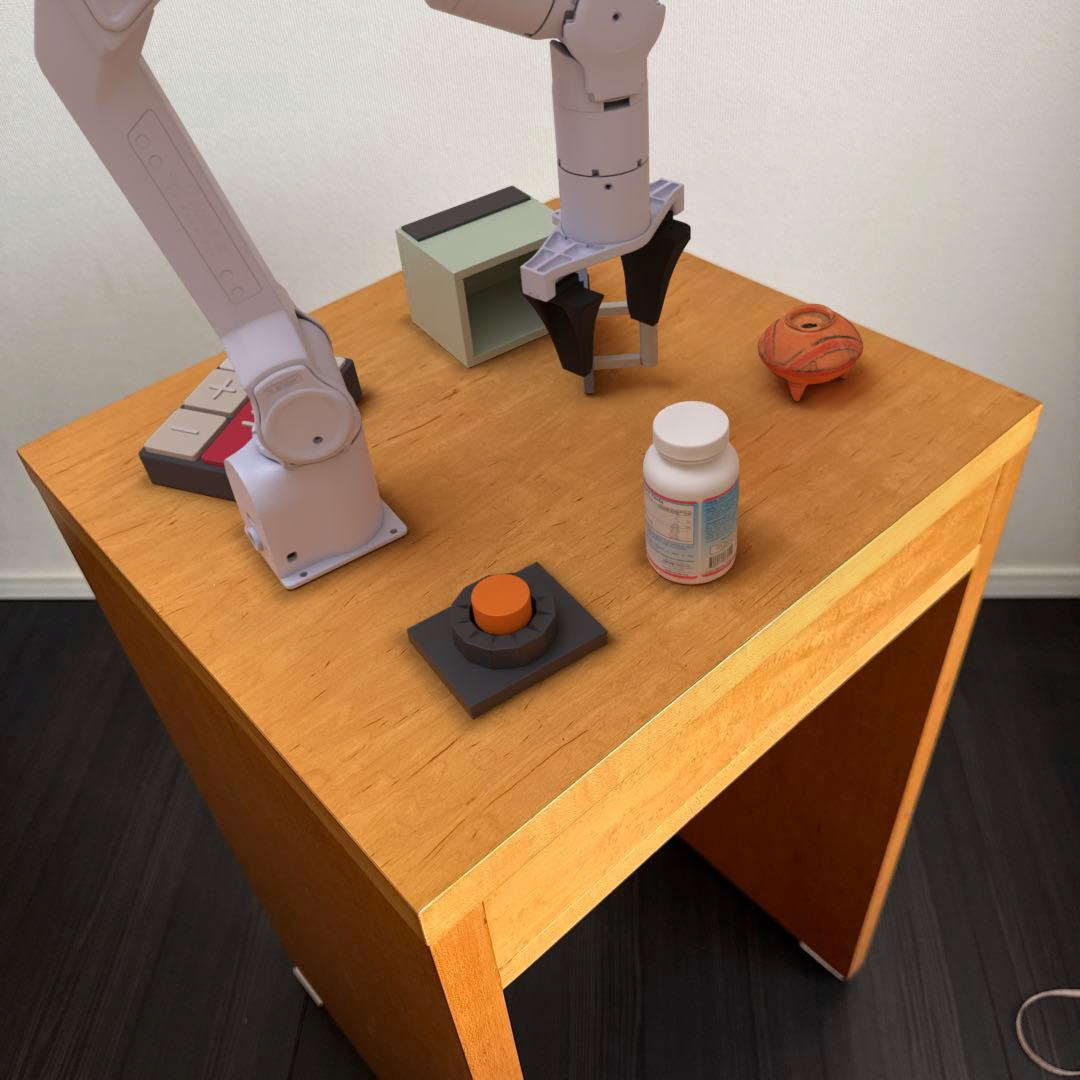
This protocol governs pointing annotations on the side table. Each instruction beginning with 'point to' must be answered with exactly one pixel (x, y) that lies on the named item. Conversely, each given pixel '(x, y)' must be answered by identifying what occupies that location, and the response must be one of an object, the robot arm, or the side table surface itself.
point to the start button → (501, 604)
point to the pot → (810, 346)
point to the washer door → (644, 358)
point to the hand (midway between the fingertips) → (611, 345)
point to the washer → (475, 273)
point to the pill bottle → (691, 494)
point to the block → (506, 644)
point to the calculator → (211, 433)
